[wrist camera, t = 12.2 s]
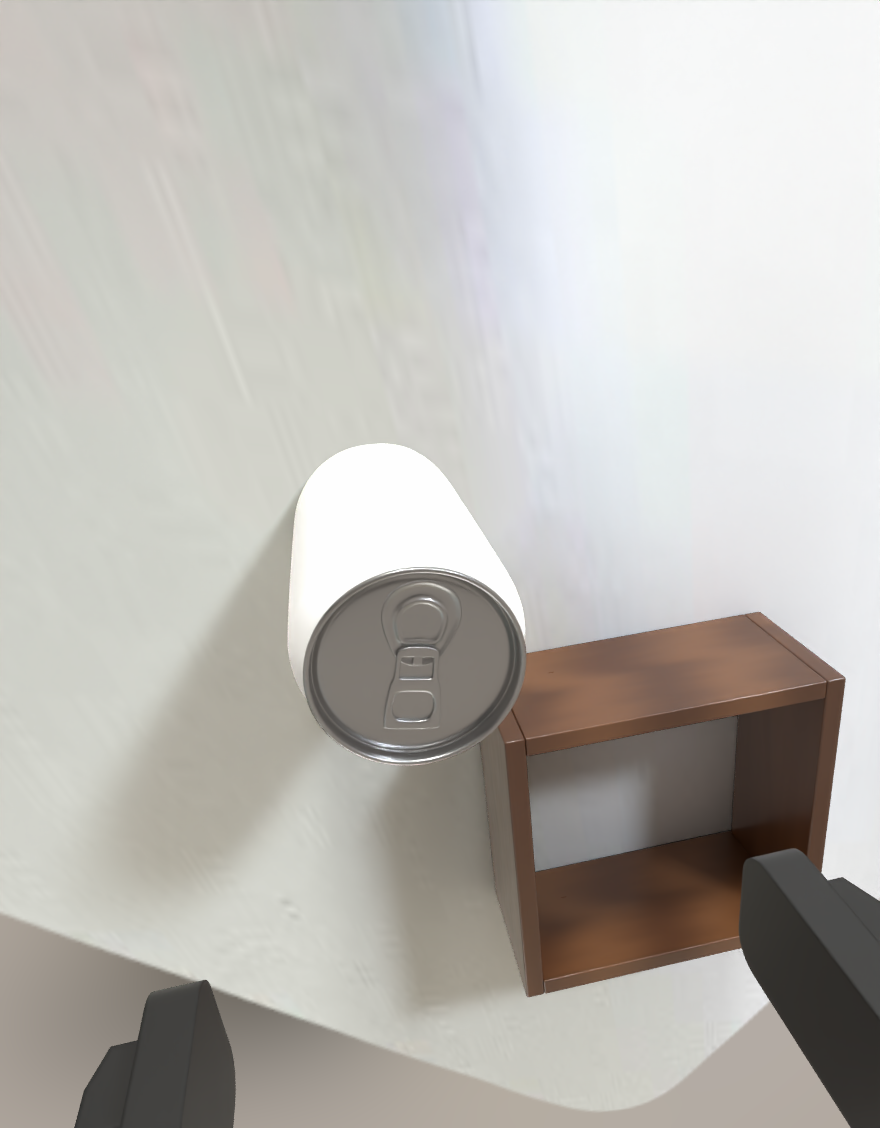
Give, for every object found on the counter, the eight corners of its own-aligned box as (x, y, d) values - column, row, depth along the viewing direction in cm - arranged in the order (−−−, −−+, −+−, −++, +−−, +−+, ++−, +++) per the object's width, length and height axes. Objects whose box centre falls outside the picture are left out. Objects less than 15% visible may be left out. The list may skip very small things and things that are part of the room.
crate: (495, 892, 38) (527, 998, 32) (471, 662, 32) (504, 743, 27) (743, 838, 39) (814, 931, 34) (760, 610, 34) (846, 677, 28)
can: (465, 444, 29) (561, 554, 18) (449, 596, 31) (525, 777, 20) (296, 434, 27) (286, 546, 17) (292, 593, 30) (282, 783, 19)
